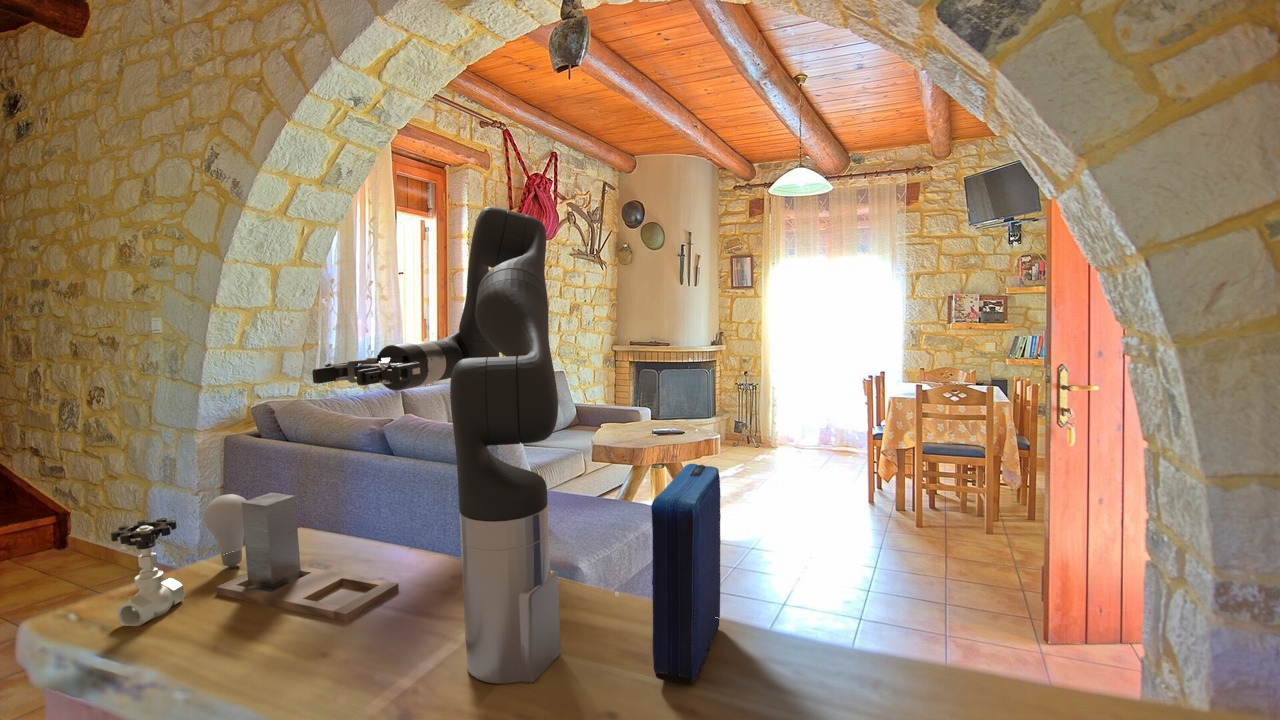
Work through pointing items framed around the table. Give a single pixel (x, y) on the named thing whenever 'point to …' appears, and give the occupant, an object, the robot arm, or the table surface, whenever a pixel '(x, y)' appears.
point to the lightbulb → (227, 526)
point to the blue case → (686, 572)
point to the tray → (317, 593)
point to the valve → (148, 574)
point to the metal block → (271, 541)
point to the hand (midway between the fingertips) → (336, 377)
